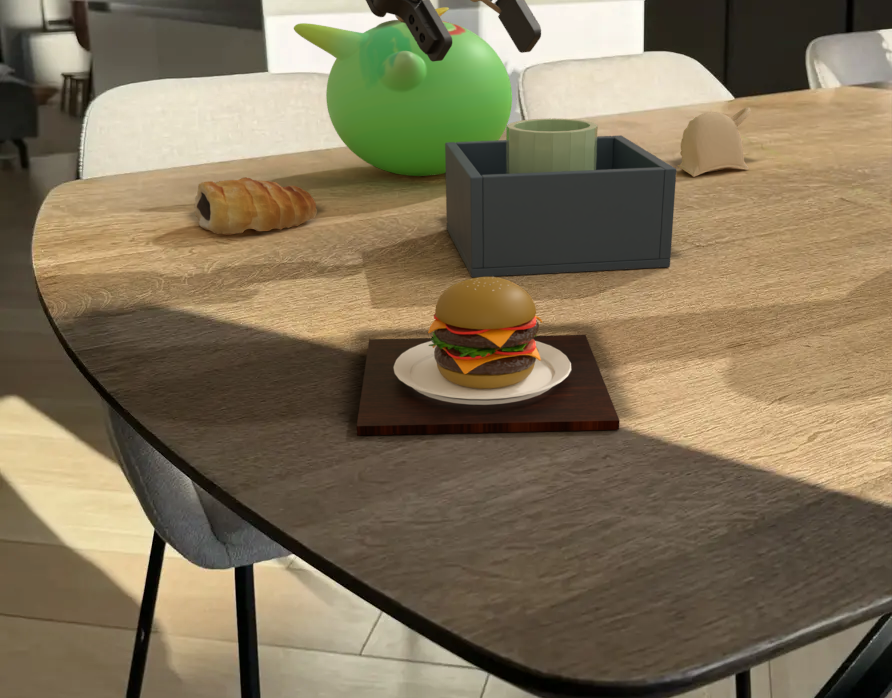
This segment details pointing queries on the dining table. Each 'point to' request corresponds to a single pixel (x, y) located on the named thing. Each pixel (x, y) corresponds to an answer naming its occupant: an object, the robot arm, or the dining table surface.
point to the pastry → (251, 206)
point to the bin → (559, 211)
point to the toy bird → (411, 94)
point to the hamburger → (483, 372)
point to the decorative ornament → (713, 143)
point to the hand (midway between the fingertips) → (489, 48)
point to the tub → (550, 145)
